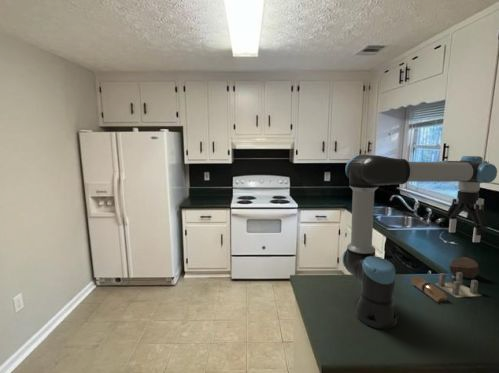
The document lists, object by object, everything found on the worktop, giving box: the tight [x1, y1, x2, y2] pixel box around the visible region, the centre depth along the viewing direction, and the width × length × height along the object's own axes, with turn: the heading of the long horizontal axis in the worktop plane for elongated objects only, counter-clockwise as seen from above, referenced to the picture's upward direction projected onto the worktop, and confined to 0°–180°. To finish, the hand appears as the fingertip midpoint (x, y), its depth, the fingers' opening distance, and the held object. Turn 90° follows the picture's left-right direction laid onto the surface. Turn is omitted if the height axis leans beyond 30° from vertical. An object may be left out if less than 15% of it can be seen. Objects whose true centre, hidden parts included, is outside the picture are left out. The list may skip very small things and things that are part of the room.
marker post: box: [449, 275, 456, 284], centre depth 137 cm, size 2×2×3 cm
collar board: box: [434, 272, 483, 298], centre depth 131 cm, size 13×13×7 cm
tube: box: [410, 275, 448, 304], centre depth 129 cm, size 16×5×5 cm, turn 6°
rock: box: [449, 256, 480, 280], centre depth 144 cm, size 12×10×10 cm
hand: (463, 236), depth 126 cm, fingers open, 13 cm apart
